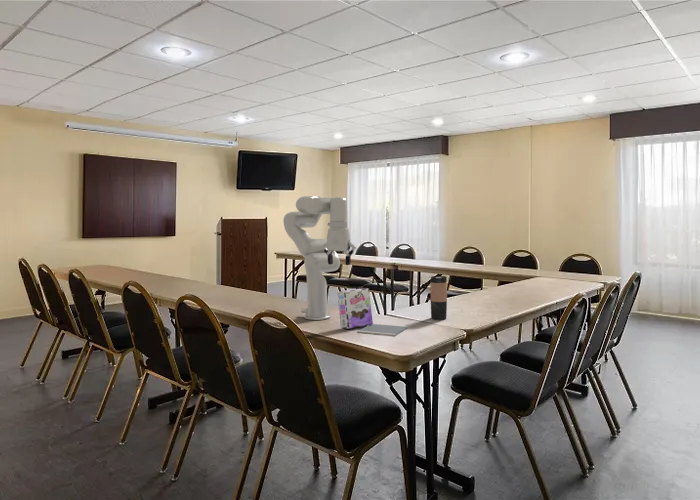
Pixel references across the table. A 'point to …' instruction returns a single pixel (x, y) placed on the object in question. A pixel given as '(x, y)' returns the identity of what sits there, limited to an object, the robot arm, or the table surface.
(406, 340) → the table surface
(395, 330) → the mat
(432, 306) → the travel mug
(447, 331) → the table surface
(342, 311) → the candy box
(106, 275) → the table surface
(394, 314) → the table surface
